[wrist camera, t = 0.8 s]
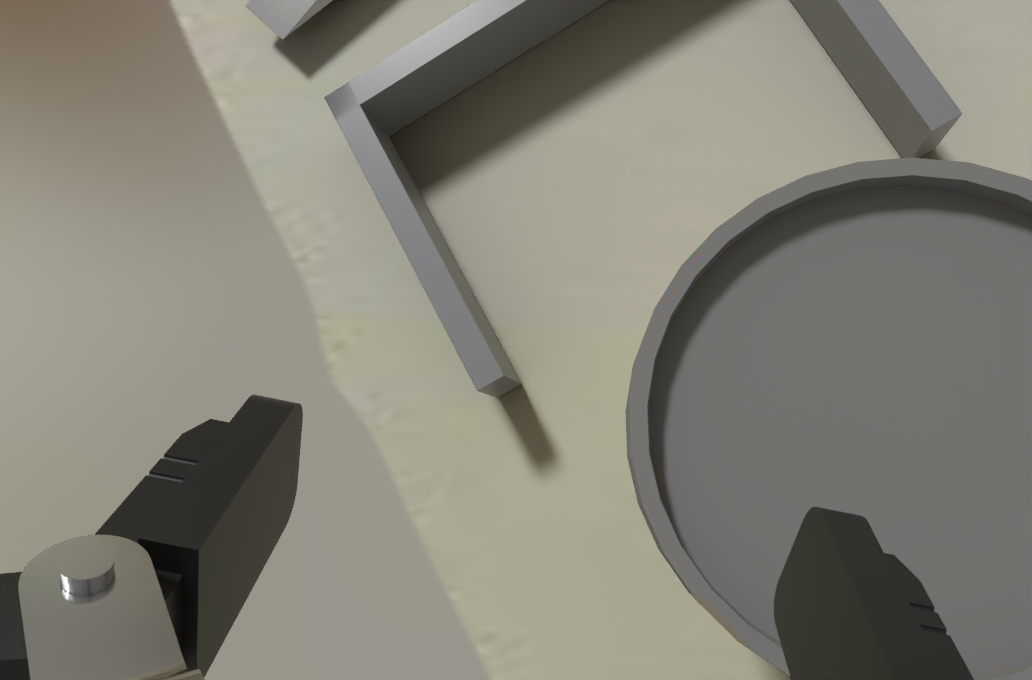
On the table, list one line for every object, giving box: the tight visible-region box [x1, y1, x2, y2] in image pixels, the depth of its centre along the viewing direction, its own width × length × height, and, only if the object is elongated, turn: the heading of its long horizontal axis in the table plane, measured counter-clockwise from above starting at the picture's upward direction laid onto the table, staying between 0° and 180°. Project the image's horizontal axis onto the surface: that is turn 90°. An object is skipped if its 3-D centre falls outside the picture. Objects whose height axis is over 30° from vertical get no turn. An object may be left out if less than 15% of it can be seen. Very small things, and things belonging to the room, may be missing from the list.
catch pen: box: [324, 0, 962, 398], centre depth 34 cm, size 14×20×4 cm
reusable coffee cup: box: [626, 158, 1032, 680], centre depth 25 cm, size 13×12×15 cm
